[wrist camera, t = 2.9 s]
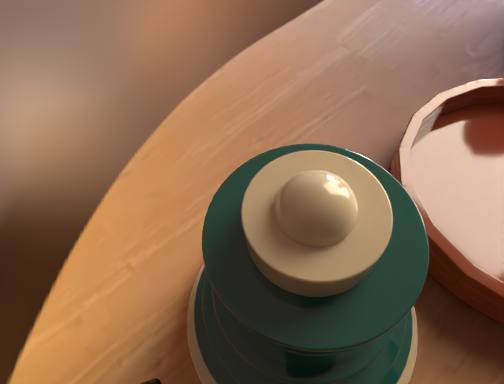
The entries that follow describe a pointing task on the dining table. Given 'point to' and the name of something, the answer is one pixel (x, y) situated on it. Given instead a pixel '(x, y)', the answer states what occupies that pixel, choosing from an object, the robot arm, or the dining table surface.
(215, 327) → the tagine lid
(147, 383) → the robot arm
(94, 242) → the dining table surface
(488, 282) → the tagine base
